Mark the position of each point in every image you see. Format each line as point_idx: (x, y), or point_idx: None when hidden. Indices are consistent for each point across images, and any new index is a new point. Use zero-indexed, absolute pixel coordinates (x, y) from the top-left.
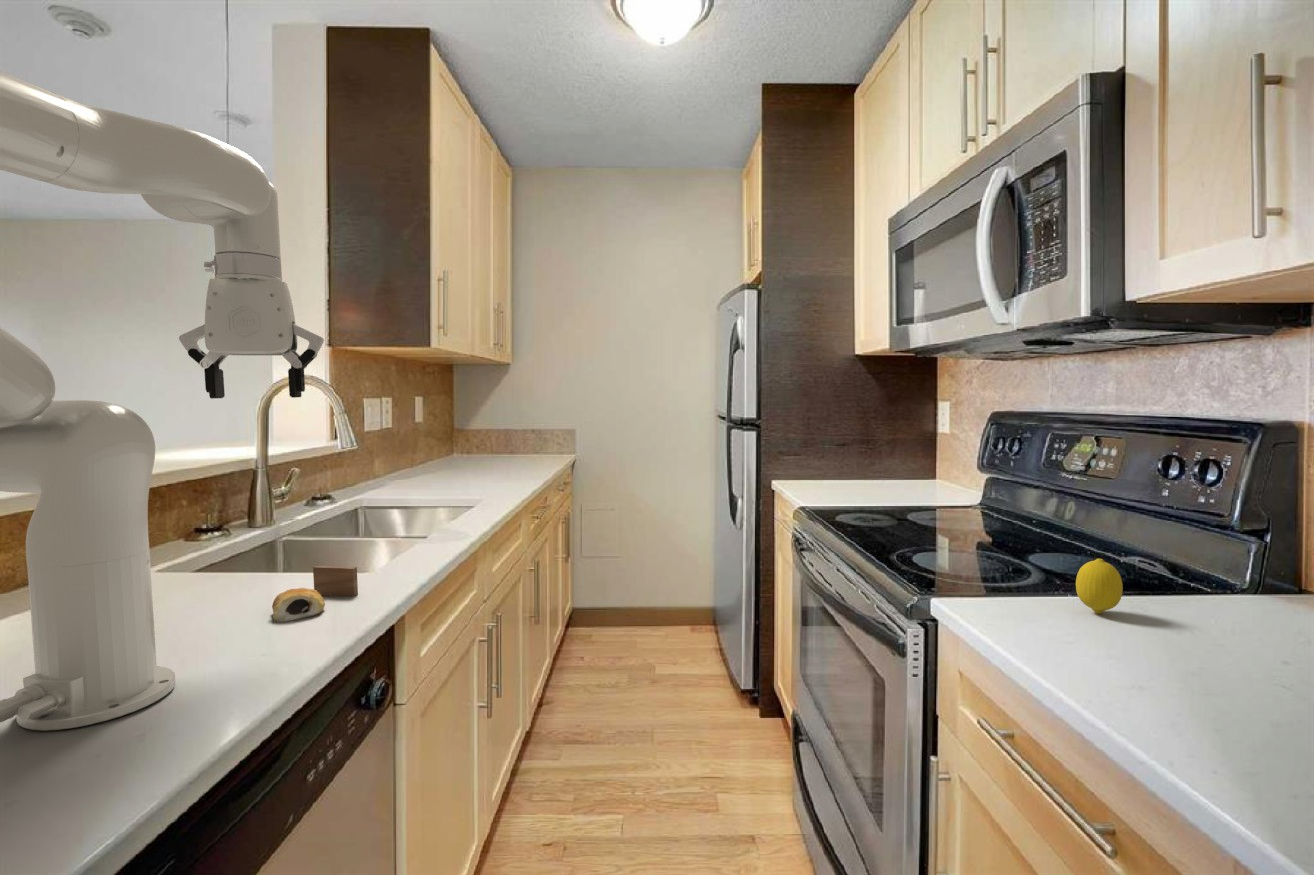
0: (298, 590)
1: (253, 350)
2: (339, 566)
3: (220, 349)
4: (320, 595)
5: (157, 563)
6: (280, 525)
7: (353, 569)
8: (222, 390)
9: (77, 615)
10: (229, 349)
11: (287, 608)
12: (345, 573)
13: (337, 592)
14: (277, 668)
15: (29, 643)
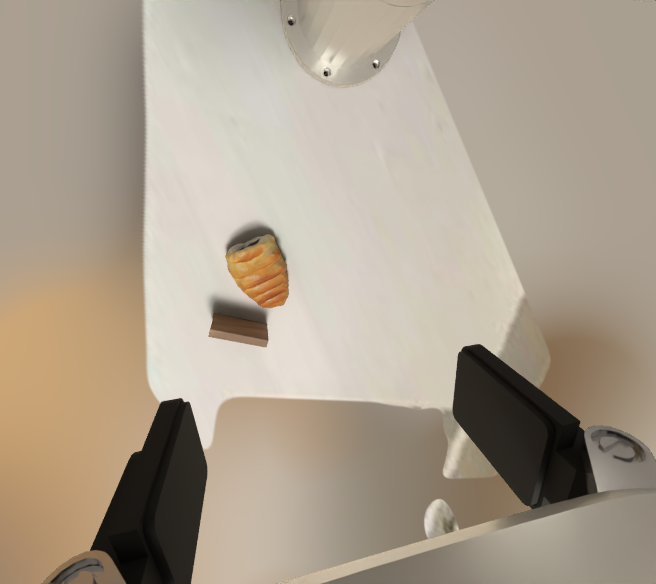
0: (257, 271)
1: (377, 573)
2: (234, 341)
3: (636, 508)
4: (237, 282)
5: None
6: None
7: (210, 329)
8: (468, 420)
9: None
10: (575, 525)
11: (258, 240)
12: (222, 328)
13: (236, 319)
14: (195, 68)
15: (478, 212)
